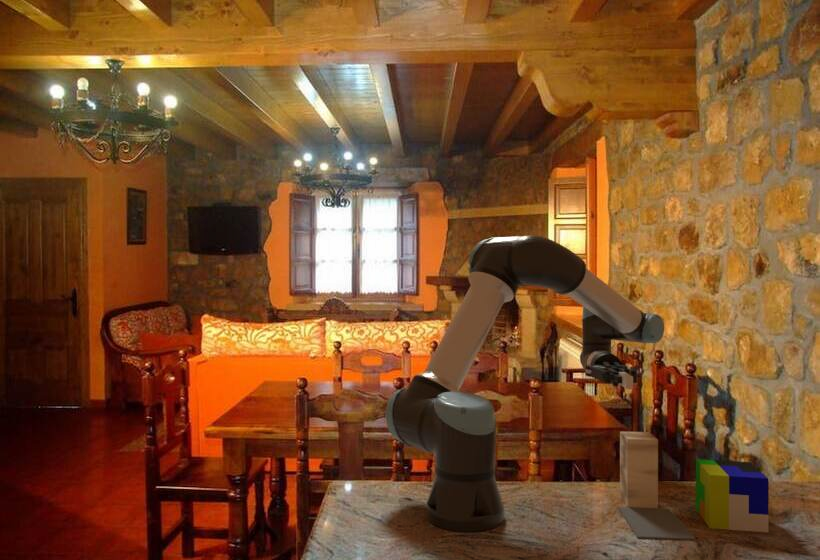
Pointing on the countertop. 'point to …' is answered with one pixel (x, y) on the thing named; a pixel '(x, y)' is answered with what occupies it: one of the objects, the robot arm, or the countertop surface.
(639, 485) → the beech block
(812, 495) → the countertop surface
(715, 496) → the puzzle toy
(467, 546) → the countertop surface
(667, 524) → the rubber mat
